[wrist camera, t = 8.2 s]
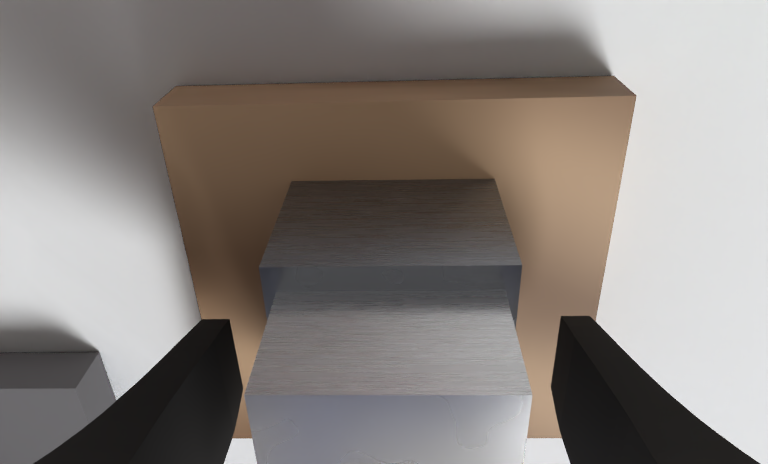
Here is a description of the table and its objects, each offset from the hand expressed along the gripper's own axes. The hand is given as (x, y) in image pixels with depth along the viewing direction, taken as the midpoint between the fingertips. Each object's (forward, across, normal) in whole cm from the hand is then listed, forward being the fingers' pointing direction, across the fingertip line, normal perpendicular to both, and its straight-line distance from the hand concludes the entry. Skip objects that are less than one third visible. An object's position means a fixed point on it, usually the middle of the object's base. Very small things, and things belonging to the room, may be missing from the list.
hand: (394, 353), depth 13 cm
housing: (+2, 0, 0) cm, 2 cm away
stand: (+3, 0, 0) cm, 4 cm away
